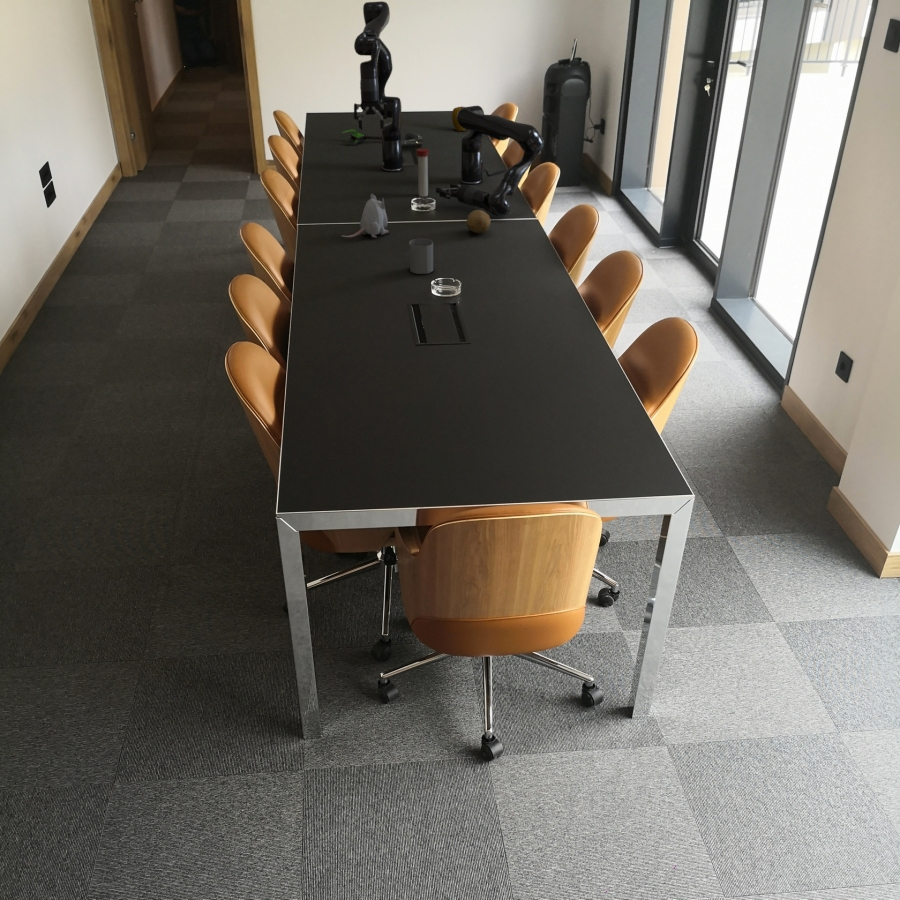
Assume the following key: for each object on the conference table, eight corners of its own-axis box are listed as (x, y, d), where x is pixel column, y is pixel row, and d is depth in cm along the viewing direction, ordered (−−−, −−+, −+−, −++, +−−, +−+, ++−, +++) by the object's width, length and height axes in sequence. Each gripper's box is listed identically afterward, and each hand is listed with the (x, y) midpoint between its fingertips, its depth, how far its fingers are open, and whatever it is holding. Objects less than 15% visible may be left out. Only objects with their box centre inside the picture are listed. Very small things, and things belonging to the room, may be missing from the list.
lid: (430, 154, 377) (430, 149, 376) (425, 157, 373) (425, 151, 372) (420, 153, 379) (420, 148, 378) (414, 155, 375) (414, 150, 374)
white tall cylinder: (429, 194, 386) (429, 150, 376) (425, 197, 383) (424, 152, 373) (421, 193, 388) (420, 149, 377) (416, 195, 384) (415, 151, 374)
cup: (409, 265, 311) (408, 238, 306) (432, 265, 312) (431, 238, 307) (410, 274, 304) (409, 246, 299) (433, 273, 305) (433, 246, 299)
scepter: (396, 126, 467) (340, 124, 465) (396, 141, 460) (339, 139, 458) (396, 135, 472) (341, 133, 470) (396, 151, 465) (340, 148, 463)
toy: (394, 233, 341) (393, 195, 333) (349, 248, 327) (347, 208, 319) (379, 228, 347) (377, 190, 338) (334, 242, 332) (331, 203, 324)
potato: (488, 225, 349) (488, 206, 345) (492, 237, 337) (492, 217, 333) (464, 226, 348) (464, 206, 344) (467, 238, 337) (467, 217, 332)
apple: (471, 132, 486) (471, 108, 479) (451, 132, 486) (451, 108, 479) (470, 128, 495) (471, 104, 488) (452, 128, 495) (452, 104, 488)
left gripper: (386, 87, 367) (387, 126, 376) (352, 87, 366) (354, 127, 375) (386, 90, 361) (388, 130, 369) (352, 90, 360) (354, 131, 368)
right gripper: (458, 208, 362) (431, 199, 372) (481, 201, 370) (455, 193, 380) (458, 190, 358) (431, 182, 368) (482, 183, 366) (455, 175, 376)
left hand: (371, 129), depth 372 cm, fingers open, 8 cm apart
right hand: (443, 187), depth 374 cm, fingers open, 8 cm apart
